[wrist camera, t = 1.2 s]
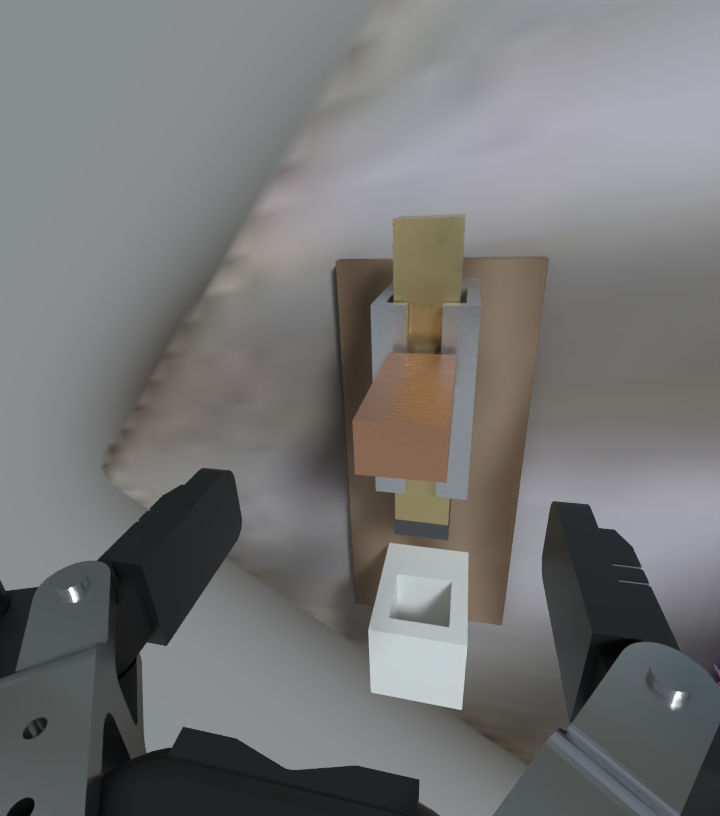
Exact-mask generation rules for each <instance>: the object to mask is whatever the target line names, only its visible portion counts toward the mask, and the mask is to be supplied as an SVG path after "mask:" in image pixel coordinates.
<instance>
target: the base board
mask: <svg viewBox="0 0 720 816" xmlns="http://www.w3.org/2000/svg"><path fill="white" fill-rule="evenodd" d="M548 260H549V259H548V258H547V257H484V258H463V270H462V278H479V285H480V299H481V313H480V327H479V341H478V355H477V369H476V383H475V397H474V411H473V424H472V438H471V452H470V466H469V480H468V494H467V500H462V499H452V498H451V509H450V523H449V537H448V540H441V539H432V538H424V537H415V536H407V535H398V534H394V519H395V493H391V492H381V491H376V480H375V476H365V475H355V464H354V444H353V424H352V420H353V419H354V417H355V415H356V413H357V411H358V409H359V407H360V405H361V404H362V402H363V400H364V398H365V396H366V394H367V392H368V391H369V389H370V387H371V385H372V383H373V375H372V340H371V304H372V303H373V302H374V301H375V300H376V299H377V298H378V297H379V295H380V294H381V293H382V292H383V291H384V290H385V289H386V288H387V287H388V286H389V285H390V284H391V283H392V281H393V259H340V260H338V261H336V275H337V292H338V309H339V327H340V344H341V361H342V379H343V396H344V413H345V430H346V448H347V465H348V482H349V500H350V517H351V534H352V551H353V569H354V586H355V603H359V604H366V605H372V606H374V604H375V600H376V596H377V592H378V587H379V583H380V579H381V575H382V571H383V567H384V563H385V558H386V554H387V550H388V546H389V543H395V544H403V545H411V546H419V547H427V548H436V549H444V550H452V551H460V552H468V620H470V621H476V622H483V623H489V624H496V625H502V620H503V612H504V604H505V596H506V588H507V581H508V573H509V565H510V557H511V549H512V541H513V534H514V526H515V518H516V510H517V502H518V495H519V487H520V479H521V471H522V463H523V456H524V448H525V440H526V432H527V424H528V416H529V409H530V401H531V393H532V385H533V377H534V370H535V362H536V354H537V346H538V338H539V331H540V323H541V315H542V307H543V299H544V292H545V284H546V276H547V268H548Z"/></svg>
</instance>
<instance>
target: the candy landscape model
mask: <svg viewBox="0 0 720 816" xmlns="http://www.w3.org/2000/svg"><path fill="white" fill-rule="evenodd" d="M713 666H714V667H715V670H716V671H717V672H718V674H719V677H720V669H718V668H717V666H716V664H713ZM717 685H718V686H719V688H720V682H718V683H717Z"/></svg>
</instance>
